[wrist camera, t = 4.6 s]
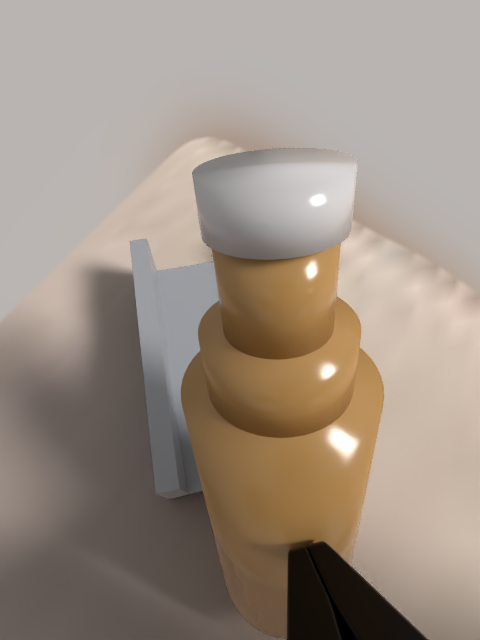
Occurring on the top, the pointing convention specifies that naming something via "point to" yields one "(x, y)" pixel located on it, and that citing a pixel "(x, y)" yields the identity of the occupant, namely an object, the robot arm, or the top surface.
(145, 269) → the grey cradle
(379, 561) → the top surface
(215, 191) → the amber bottle
